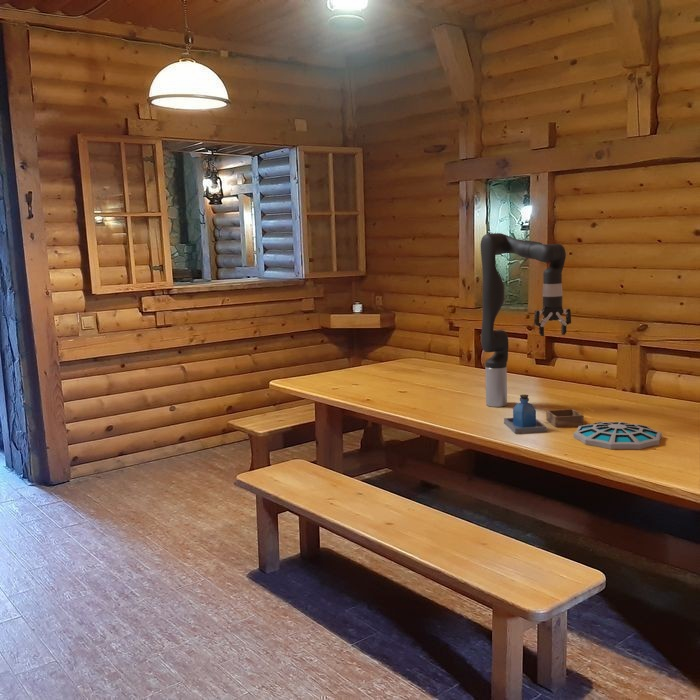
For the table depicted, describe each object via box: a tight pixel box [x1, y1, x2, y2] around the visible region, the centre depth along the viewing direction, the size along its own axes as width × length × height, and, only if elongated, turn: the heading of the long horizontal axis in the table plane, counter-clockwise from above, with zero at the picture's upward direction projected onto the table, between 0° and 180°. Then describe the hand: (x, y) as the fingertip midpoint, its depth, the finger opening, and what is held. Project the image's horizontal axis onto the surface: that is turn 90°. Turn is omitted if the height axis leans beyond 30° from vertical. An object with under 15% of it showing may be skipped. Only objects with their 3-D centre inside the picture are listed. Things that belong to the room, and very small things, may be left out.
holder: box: [545, 408, 585, 428], centre depth 288 cm, size 11×11×4 cm
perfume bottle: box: [512, 394, 537, 428], centre depth 284 cm, size 6×6×12 cm
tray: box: [503, 417, 547, 435], centre depth 284 cm, size 16×12×2 cm
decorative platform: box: [573, 421, 663, 450], centre depth 265 cm, size 31×29×5 cm
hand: (552, 335), depth 291 cm, fingers open, 8 cm apart
